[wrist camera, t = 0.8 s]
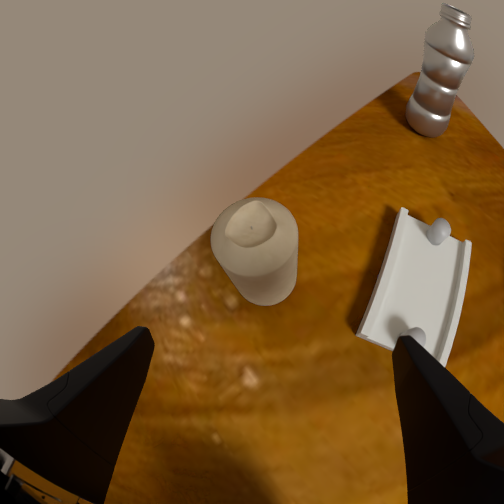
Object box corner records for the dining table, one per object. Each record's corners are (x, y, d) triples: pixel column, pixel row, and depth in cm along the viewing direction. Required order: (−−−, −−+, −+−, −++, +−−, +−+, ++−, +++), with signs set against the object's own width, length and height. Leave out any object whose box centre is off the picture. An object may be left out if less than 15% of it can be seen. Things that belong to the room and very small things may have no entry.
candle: (249, 242, 26) (226, 176, 17) (304, 258, 25) (309, 196, 16) (227, 294, 24) (188, 250, 15) (284, 315, 23) (279, 281, 14)
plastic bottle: (394, 114, 31) (417, -7, 13) (427, 114, 31) (457, 6, 13) (416, 144, 29) (456, 12, 10) (450, 143, 28) (493, 29, 10)
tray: (435, 368, 19) (451, 367, 16) (355, 335, 21) (364, 331, 19) (463, 249, 22) (477, 237, 20) (396, 216, 25) (405, 200, 22)
